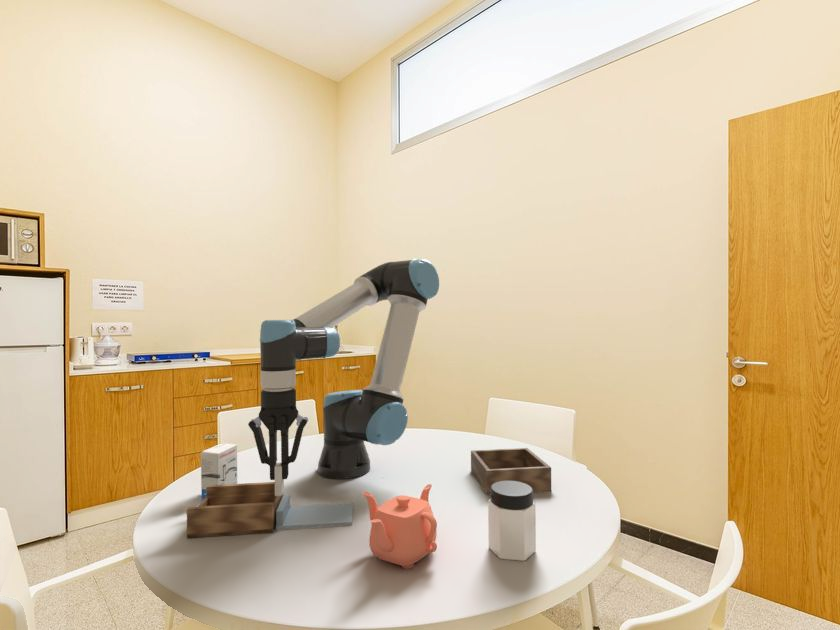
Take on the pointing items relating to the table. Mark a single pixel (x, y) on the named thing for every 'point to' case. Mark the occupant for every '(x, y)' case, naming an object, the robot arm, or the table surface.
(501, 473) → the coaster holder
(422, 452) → the table surface
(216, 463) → the ink box
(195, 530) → the box
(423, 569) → the table surface
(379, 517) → the teapot
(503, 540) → the jar
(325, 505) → the lid
